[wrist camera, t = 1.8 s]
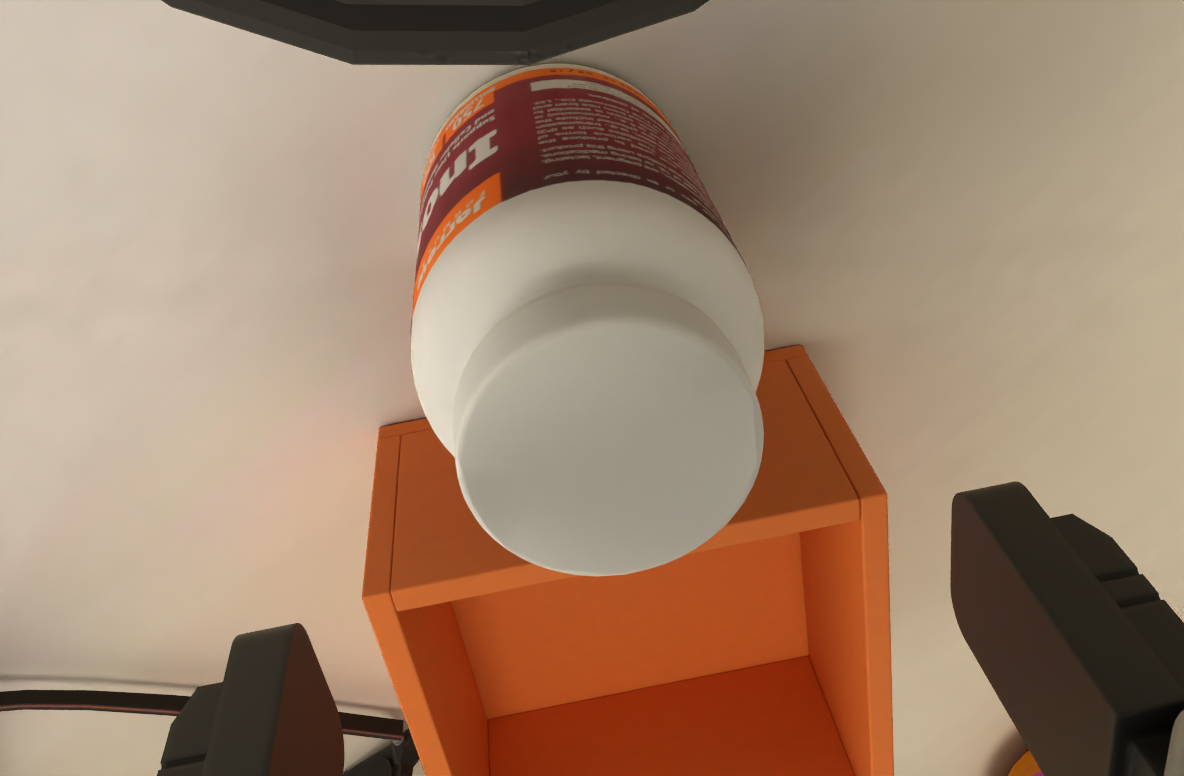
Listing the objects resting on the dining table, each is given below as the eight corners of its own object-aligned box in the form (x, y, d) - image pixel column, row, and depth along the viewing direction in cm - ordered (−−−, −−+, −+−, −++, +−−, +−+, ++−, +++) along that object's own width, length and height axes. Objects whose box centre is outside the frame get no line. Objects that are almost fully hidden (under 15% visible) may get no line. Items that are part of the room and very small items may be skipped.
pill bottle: (436, 34, 24) (428, 234, 14) (712, 79, 25) (872, 292, 15) (406, 293, 27) (383, 600, 17) (653, 323, 28) (756, 625, 18)
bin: (802, 343, 29) (888, 493, 23) (823, 650, 34) (896, 830, 29) (378, 426, 28) (360, 597, 23) (471, 721, 34) (475, 915, 29)
